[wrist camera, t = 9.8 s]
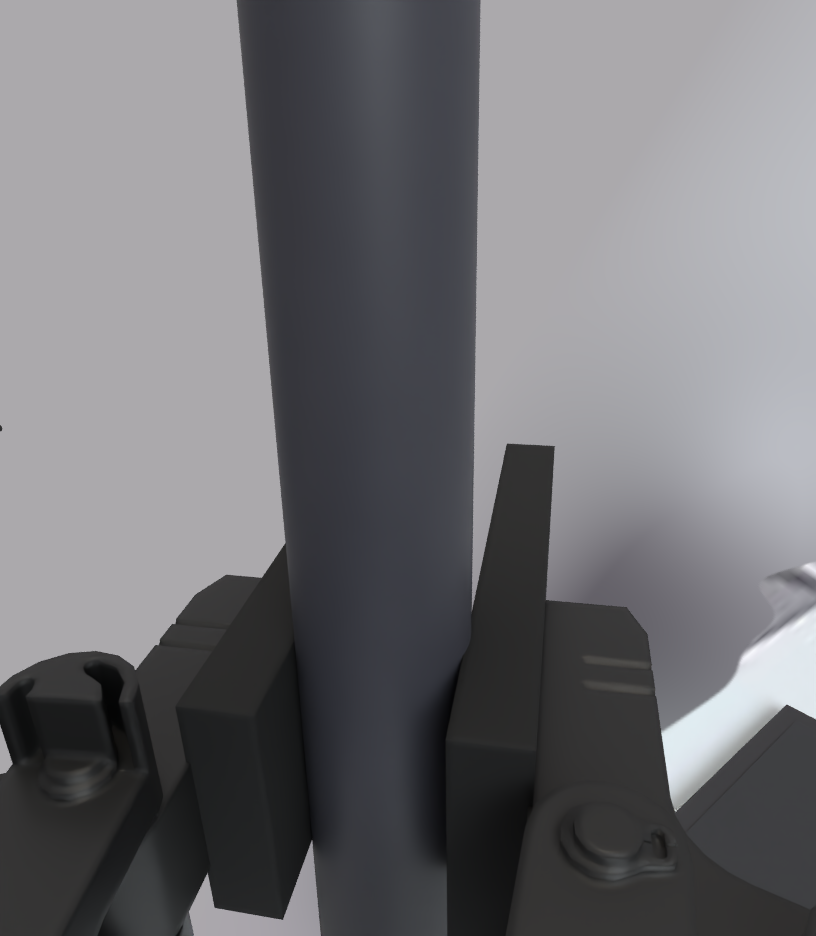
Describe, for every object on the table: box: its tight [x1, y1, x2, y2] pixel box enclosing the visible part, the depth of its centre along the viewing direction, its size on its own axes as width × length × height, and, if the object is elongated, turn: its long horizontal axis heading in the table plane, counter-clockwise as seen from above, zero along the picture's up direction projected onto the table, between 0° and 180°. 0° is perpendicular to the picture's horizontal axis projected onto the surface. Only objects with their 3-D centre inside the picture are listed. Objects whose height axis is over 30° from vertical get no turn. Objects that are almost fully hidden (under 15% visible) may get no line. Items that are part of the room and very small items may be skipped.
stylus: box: [237, 0, 480, 936], centre depth 9 cm, size 2×2×20 cm
